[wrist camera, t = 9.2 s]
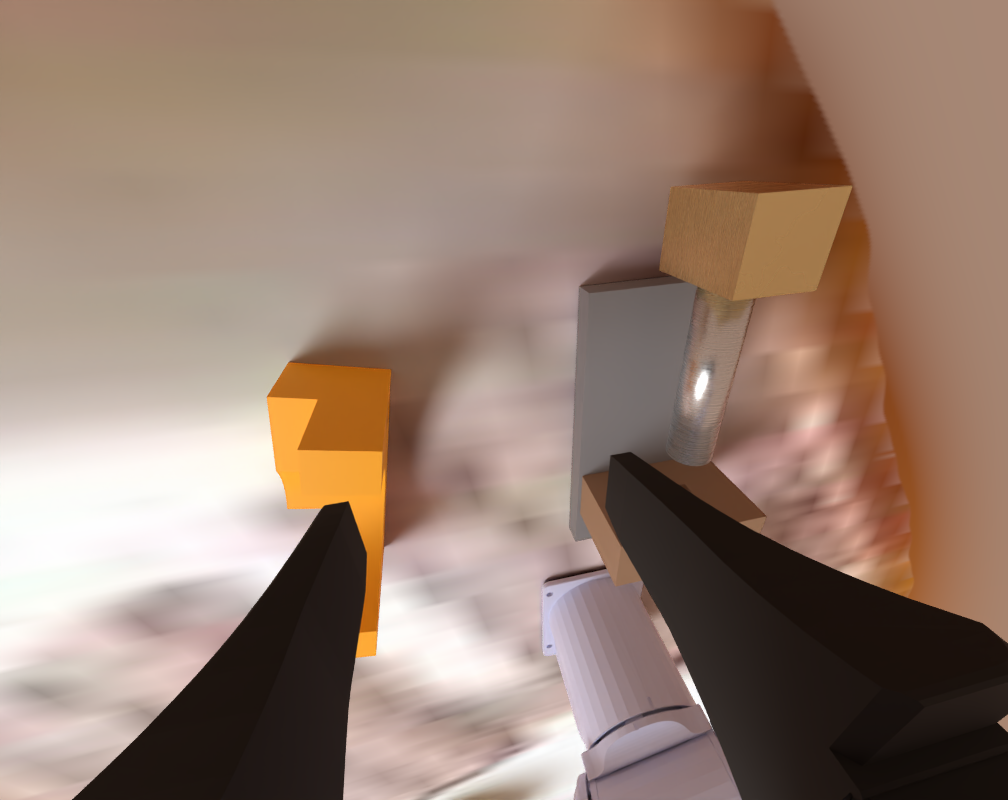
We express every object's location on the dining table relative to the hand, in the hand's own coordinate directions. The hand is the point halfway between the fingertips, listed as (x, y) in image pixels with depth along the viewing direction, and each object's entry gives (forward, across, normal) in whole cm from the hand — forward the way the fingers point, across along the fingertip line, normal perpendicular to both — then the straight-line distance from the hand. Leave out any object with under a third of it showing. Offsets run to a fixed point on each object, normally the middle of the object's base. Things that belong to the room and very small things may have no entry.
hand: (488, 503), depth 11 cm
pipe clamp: (+10, +7, +5) cm, 13 cm away
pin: (+7, -10, -2) cm, 12 cm away
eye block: (+9, -10, +4) cm, 14 cm away
